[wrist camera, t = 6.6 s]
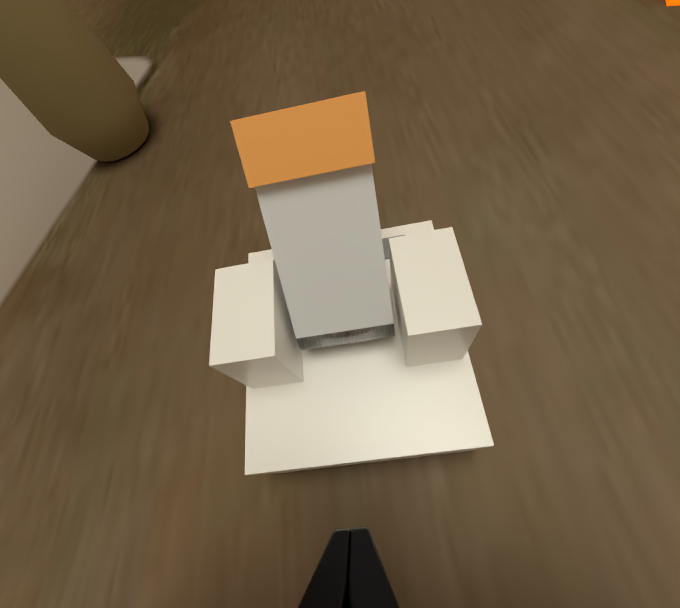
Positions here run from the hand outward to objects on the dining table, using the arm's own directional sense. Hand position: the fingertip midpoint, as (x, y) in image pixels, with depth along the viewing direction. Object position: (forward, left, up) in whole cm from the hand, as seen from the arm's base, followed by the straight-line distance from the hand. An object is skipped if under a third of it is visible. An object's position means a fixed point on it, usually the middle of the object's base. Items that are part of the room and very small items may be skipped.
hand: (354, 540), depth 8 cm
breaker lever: (+6, +4, -4) cm, 8 cm away
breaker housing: (+6, +4, -9) cm, 12 cm away
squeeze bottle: (+15, +34, -9) cm, 38 cm away
